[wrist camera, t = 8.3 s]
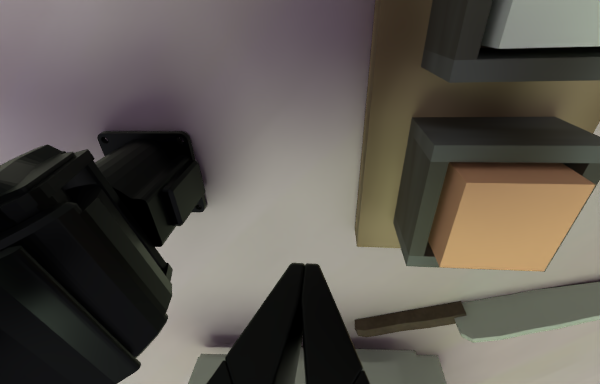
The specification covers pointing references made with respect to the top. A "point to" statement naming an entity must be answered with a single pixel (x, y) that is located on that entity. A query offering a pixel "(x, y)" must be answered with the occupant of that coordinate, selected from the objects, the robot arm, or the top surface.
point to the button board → (461, 114)
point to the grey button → (542, 24)
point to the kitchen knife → (497, 314)
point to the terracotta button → (505, 214)
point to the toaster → (376, 363)
